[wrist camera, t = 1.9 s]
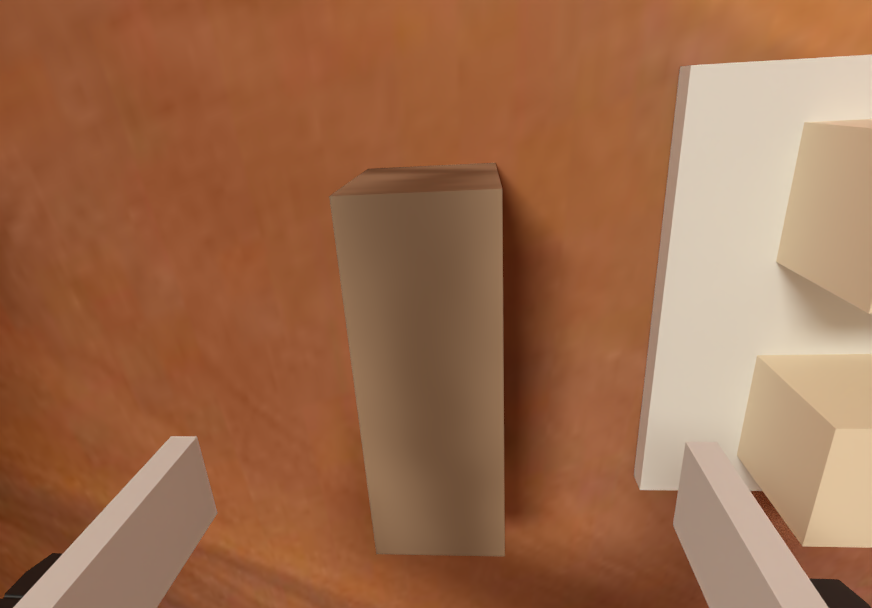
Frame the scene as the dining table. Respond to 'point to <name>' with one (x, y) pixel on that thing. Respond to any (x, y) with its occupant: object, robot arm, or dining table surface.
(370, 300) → the lintel block
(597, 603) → the dining table surface
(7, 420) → the dining table surface
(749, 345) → the post board
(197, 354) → the dining table surface
